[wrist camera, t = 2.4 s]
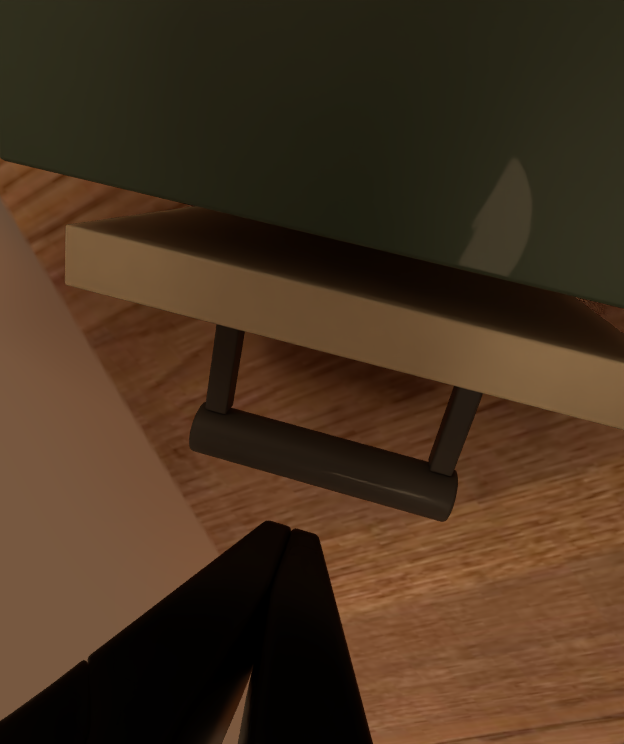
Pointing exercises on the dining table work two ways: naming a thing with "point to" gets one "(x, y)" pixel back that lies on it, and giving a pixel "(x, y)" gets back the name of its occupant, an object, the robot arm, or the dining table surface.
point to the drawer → (352, 339)
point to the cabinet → (345, 120)
